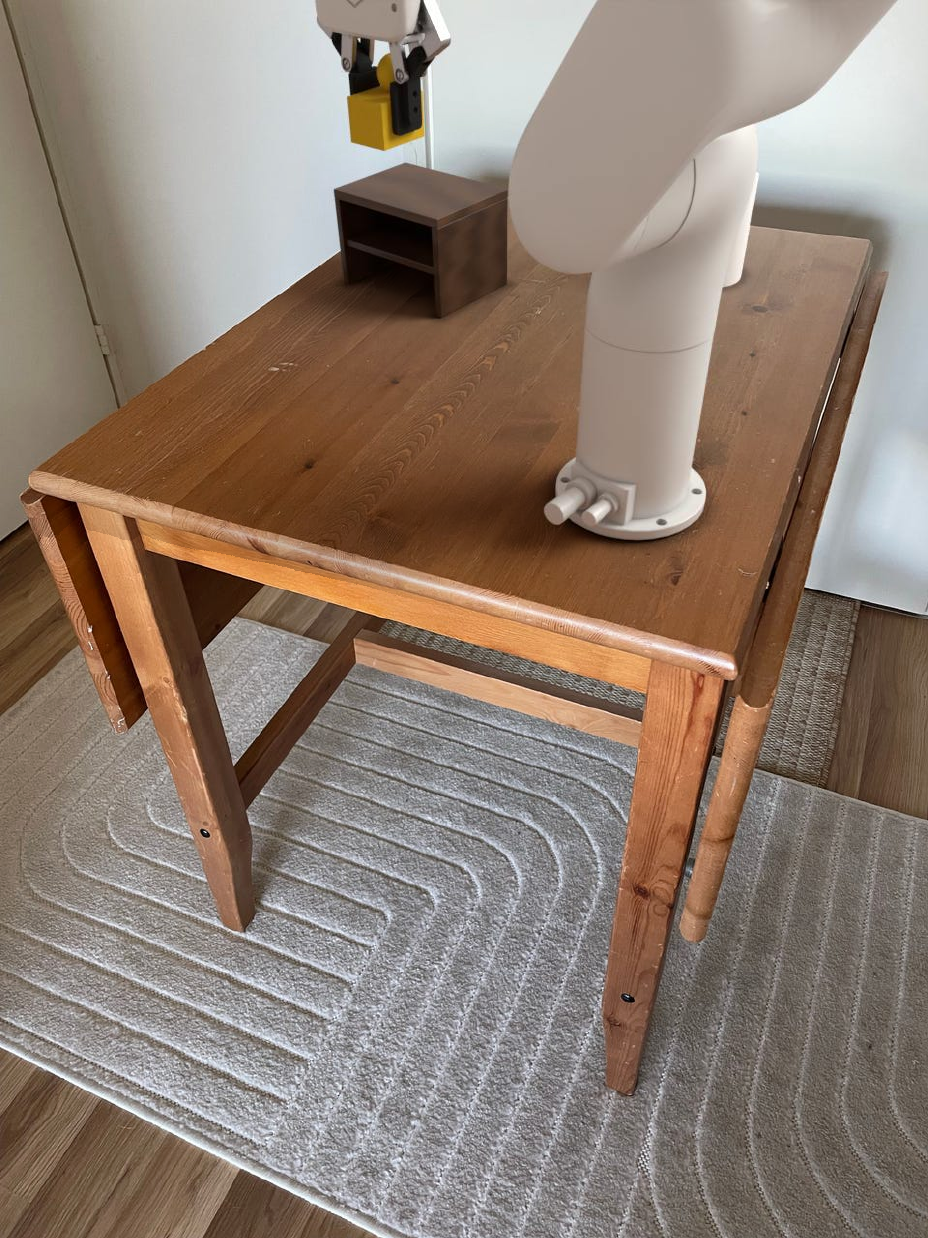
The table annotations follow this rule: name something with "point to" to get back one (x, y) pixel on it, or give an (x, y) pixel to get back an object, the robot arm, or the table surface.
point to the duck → (377, 113)
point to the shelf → (426, 230)
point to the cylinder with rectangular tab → (740, 242)
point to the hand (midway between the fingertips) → (387, 123)
